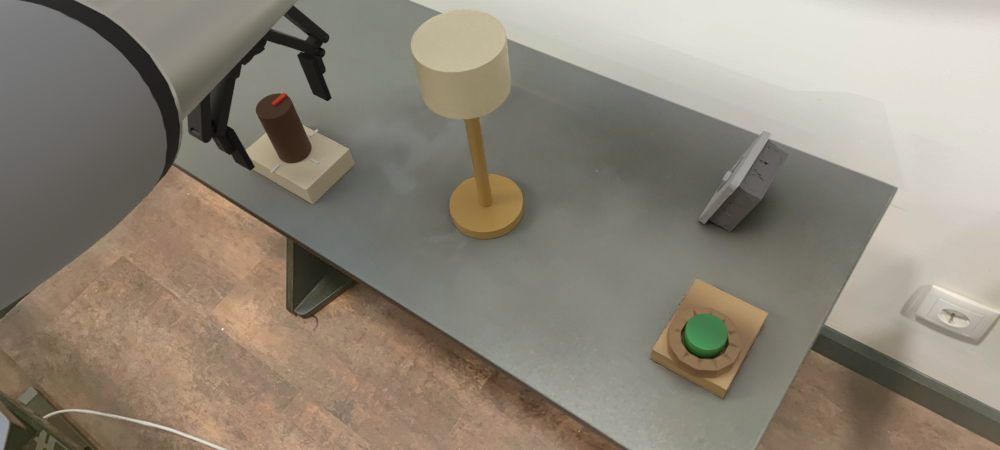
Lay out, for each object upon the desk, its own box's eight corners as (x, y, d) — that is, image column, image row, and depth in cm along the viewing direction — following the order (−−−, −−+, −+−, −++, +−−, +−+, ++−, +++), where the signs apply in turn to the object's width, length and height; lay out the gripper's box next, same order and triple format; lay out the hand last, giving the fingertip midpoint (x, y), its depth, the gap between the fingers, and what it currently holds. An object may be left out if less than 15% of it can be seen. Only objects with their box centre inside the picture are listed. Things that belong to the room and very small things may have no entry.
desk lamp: (495, 251, 82) (467, 84, 61) (436, 219, 86) (390, 51, 65) (538, 199, 86) (525, 27, 65) (479, 171, 90) (449, -1, 69)
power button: (714, 365, 67) (717, 357, 66) (676, 345, 69) (678, 336, 68) (731, 334, 69) (735, 325, 68) (694, 315, 71) (696, 306, 69)
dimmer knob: (294, 168, 89) (271, 121, 82) (271, 155, 90) (246, 108, 84) (318, 146, 91) (298, 99, 84) (295, 133, 92) (273, 86, 86)
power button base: (721, 402, 69) (727, 386, 66) (648, 362, 72) (651, 344, 69) (764, 323, 74) (772, 304, 70) (693, 288, 77) (698, 268, 74)
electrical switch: (729, 171, 86) (751, 120, 78) (769, 190, 84) (795, 141, 77) (695, 224, 82) (715, 176, 74) (736, 245, 80) (761, 198, 72)
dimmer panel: (311, 206, 89) (303, 190, 86) (248, 169, 94) (239, 153, 91) (356, 162, 93) (350, 146, 90) (294, 129, 97) (286, 113, 95)
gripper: (277, -88, 77) (331, 60, 95) (89, 41, 66) (189, 183, 84) (325, -71, 74) (372, 79, 92) (137, 67, 63) (230, 209, 81)
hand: (285, 129), depth 88 cm, fingers open, 13 cm apart
